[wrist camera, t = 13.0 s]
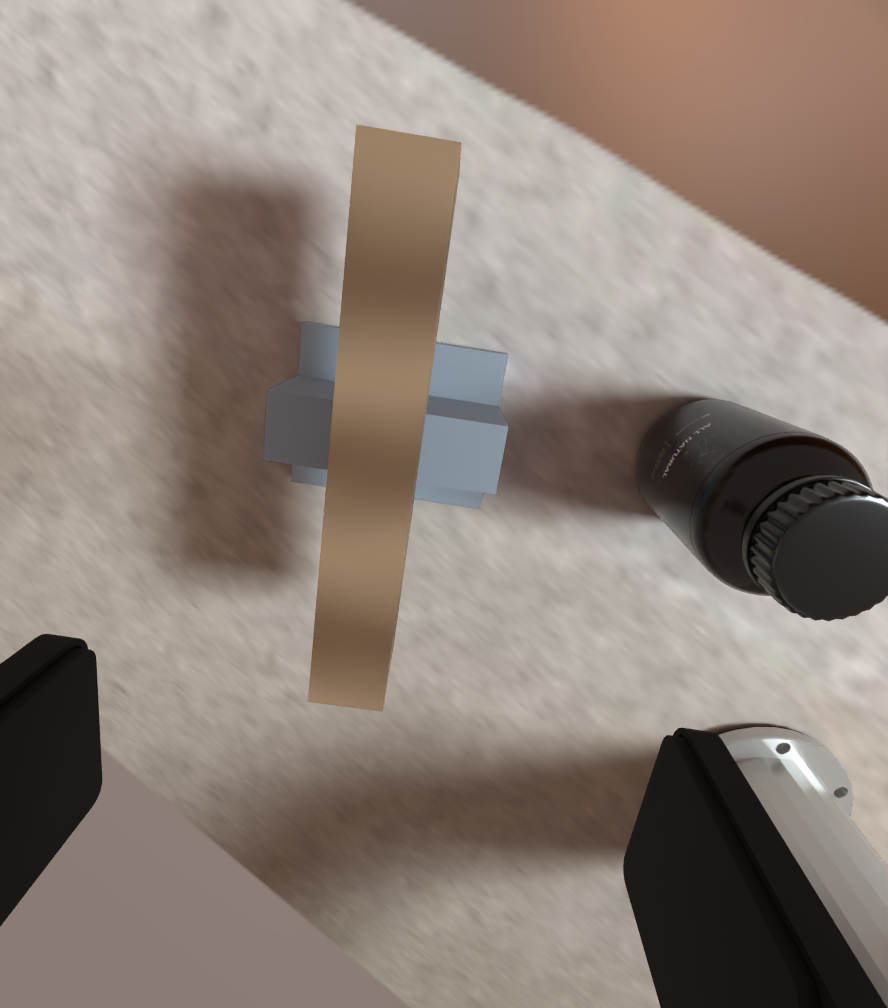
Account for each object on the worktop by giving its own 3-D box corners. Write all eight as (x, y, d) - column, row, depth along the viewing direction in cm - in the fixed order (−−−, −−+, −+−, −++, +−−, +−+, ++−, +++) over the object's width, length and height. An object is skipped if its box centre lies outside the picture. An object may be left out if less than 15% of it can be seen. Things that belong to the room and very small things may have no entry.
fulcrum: (479, 502, 31) (485, 547, 25) (296, 476, 30) (261, 514, 25) (506, 353, 28) (520, 365, 22) (306, 322, 28) (269, 326, 22)
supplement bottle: (638, 397, 29) (760, 457, 18) (773, 396, 29) (982, 456, 17) (625, 522, 31) (725, 647, 20) (750, 522, 31) (921, 647, 20)
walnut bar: (393, 647, 27) (382, 711, 23) (330, 639, 27) (308, 701, 23) (459, 176, 20) (461, 142, 16) (376, 162, 20) (356, 124, 16)
